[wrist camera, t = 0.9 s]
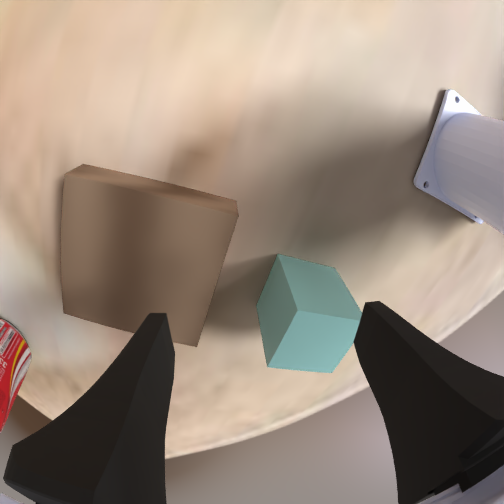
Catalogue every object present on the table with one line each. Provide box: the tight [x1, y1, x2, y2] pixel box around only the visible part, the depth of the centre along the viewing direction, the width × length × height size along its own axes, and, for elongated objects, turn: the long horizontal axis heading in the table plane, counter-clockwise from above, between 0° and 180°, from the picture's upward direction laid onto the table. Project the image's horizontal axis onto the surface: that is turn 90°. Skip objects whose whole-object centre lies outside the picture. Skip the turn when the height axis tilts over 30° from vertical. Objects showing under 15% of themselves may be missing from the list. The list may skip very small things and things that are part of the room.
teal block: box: [256, 254, 362, 373], centre depth 19 cm, size 4×4×6 cm
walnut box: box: [61, 164, 238, 347], centre depth 18 cm, size 10×10×3 cm
